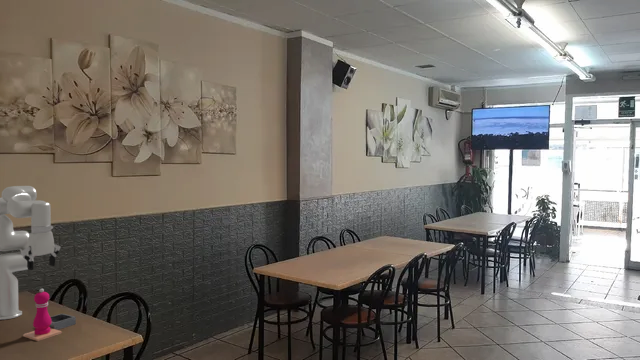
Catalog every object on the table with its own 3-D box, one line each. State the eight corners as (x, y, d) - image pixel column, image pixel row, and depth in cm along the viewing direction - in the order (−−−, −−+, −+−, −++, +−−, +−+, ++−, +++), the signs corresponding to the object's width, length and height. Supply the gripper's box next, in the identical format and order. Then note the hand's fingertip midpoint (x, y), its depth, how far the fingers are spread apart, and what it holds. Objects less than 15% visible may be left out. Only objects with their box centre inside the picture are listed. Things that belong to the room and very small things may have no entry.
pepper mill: (43, 336, 213) (42, 291, 212) (29, 334, 214) (28, 290, 213) (55, 330, 220) (54, 287, 219) (41, 329, 221) (41, 286, 220)
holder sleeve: (40, 326, 228) (40, 319, 227) (62, 320, 237) (62, 313, 237) (54, 330, 222) (54, 323, 222) (75, 324, 232) (75, 316, 231)
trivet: (23, 336, 215) (23, 334, 215) (47, 329, 224) (47, 327, 224) (37, 341, 209) (37, 338, 209) (61, 333, 219) (61, 331, 219)
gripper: (54, 226, 224) (55, 263, 225) (16, 231, 209) (16, 270, 210) (64, 228, 221) (65, 265, 221) (26, 232, 206) (26, 272, 206)
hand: (41, 267), depth 216 cm, fingers open, 9 cm apart
